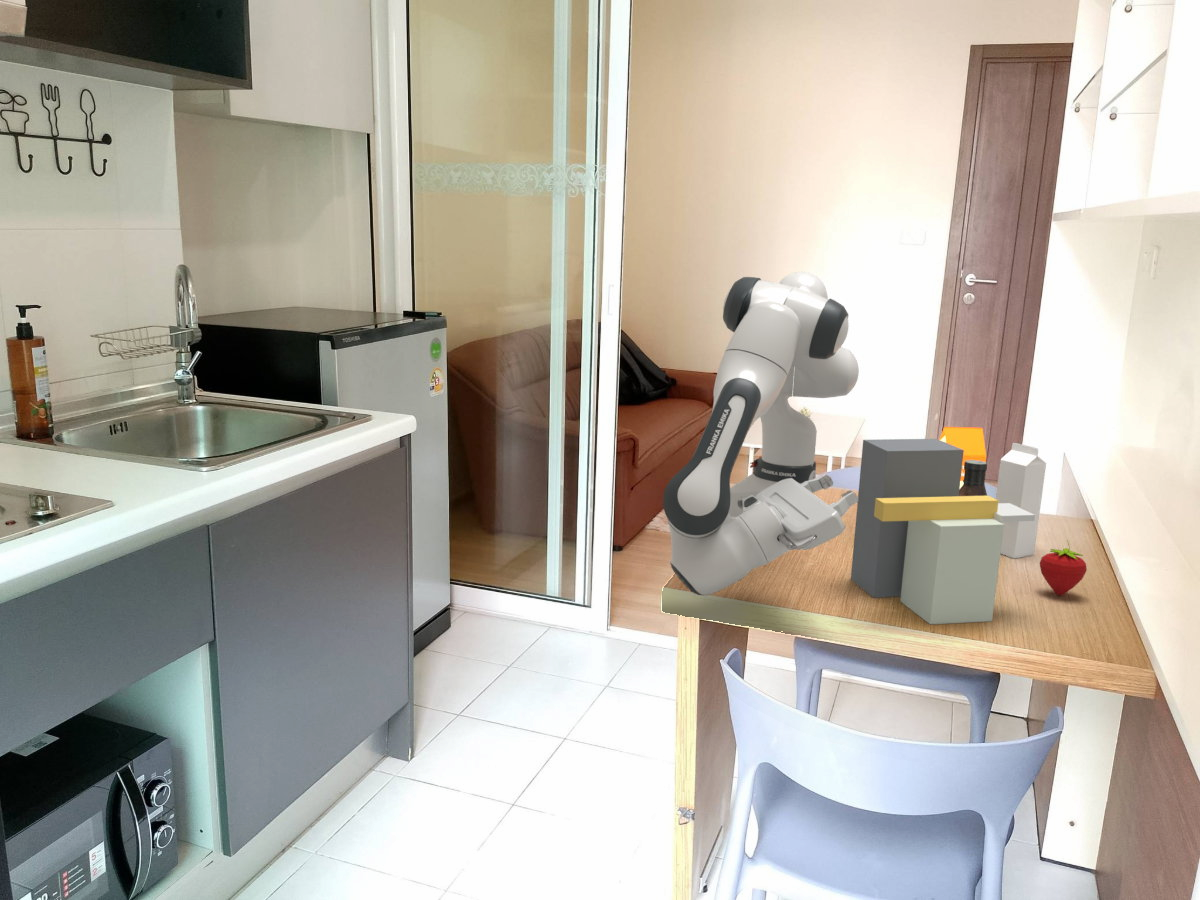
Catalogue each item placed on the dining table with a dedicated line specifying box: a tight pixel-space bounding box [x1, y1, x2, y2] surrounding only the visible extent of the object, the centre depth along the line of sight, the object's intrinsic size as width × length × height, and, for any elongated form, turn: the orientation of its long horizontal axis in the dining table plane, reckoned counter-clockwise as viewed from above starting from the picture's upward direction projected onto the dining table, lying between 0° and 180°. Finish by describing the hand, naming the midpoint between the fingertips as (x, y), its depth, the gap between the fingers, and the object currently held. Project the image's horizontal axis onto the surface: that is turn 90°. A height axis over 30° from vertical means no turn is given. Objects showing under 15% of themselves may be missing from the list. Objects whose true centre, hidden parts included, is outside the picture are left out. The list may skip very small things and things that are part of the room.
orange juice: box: [938, 426, 987, 488], centre depth 216 cm, size 8×9×20 cm
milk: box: [992, 442, 1047, 559], centre depth 189 cm, size 6×6×22 cm
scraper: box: [874, 495, 1035, 522], centre depth 156 cm, size 26×7×3 cm, turn 100°
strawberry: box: [1039, 539, 1087, 596], centre depth 167 cm, size 6×8×10 cm
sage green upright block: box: [899, 518, 1004, 625], centre depth 158 cm, size 11×10×16 cm
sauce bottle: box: [959, 460, 988, 496], centre depth 183 cm, size 6×6×20 cm
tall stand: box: [850, 438, 964, 599], centre depth 167 cm, size 14×9×26 cm, turn 101°
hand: (842, 486), depth 152 cm, fingers open, 8 cm apart
